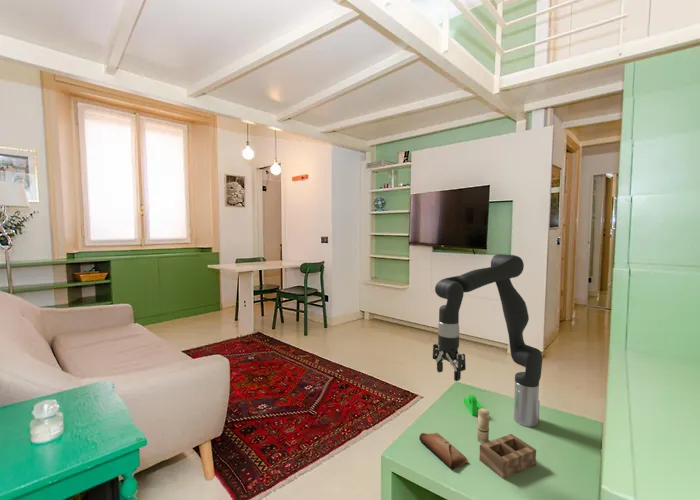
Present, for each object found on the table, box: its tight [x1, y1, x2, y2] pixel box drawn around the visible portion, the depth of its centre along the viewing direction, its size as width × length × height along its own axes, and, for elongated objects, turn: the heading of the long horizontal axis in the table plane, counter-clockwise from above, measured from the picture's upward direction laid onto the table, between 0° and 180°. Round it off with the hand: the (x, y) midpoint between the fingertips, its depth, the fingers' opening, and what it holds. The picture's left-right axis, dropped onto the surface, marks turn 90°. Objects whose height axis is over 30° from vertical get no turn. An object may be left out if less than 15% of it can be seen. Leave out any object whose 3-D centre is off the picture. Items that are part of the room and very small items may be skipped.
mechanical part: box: [463, 394, 484, 417], centre depth 153 cm, size 12×6×8 cm, turn 178°
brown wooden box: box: [479, 433, 537, 480], centre depth 117 cm, size 16×10×6 cm, turn 114°
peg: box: [477, 408, 490, 444], centre depth 129 cm, size 4×4×12 cm
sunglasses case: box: [418, 432, 469, 470], centre depth 122 cm, size 18×7×7 cm
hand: (448, 376), depth 124 cm, fingers open, 8 cm apart
